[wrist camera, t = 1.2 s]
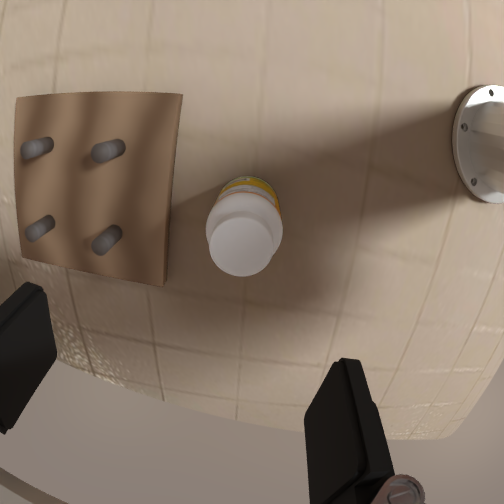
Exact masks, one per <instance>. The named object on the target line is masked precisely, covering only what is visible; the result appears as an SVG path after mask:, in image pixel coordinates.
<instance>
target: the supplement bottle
mask: <svg viewBox="0 0 504 504" xmlns="http://www.w3.org/2000/svg"><path fill="white" fill-rule="evenodd" d="M282 234H283V226H282V219H281V213H280V208H279V202H278V199H277V196H276V193H275V191H274V190H273V189H272V187H271V186H270V185H269V184H268V183H266V182H265V181H263V180H262V179H259V178H257V177H252V176H243V177H239V178H236V179H234V180H232V181H230V182H229V183H228V184H226V185H225V186H224V188H223V189H222V190H221V192H220V194H219V196H218V198H217V200H216V202H215V204H214V206H213V208H212V210H211V211H210V214H209V216H208V219H207V223H206V237H207V241H208V244H209V250H210V255H211V257H212V259H213V261H214V263H215V264H216V265H217V266H218V267H219V268H220V269H221V270H222V271H224V272H226V273H228V274H230V275H233V276H240V277H244V276H250V275H254V274H256V273H258V272H260V271H261V270H263V269H264V268H265V267H266V266H267V265H268V263H269V262H270V260H271V258H272V255H273V254H274V253H275V252H276V251H277V249H278V247H279V245H280V243H281V240H282Z"/></svg>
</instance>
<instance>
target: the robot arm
mask: <svg viewBox="0 0 504 504" xmlns="http://www.w3.org/2000/svg"><path fill="white" fill-rule="evenodd" d="M452 145H453V155H454V160H455V164H456V167H457V170H458V173H459V175H460V177H461V179H462V181H463V183H464V184H465V185H466V187H467V188H468V189H469V191H470V192H472V193H473V194H474V195H475V196H476V197H478V198H480V199H482V200H483V201H486V202H489V203H493V204H501V203H504V87H502V86H497V85H484V86H480V87H477V88H475V89H474V90H472V91H471V92H470V93H469V94H468V95H467V96H466V97H465V98H464V99H463V101H462V103H461V104H460V106H459V108H458V111H457V113H456V116H455V121H454V125H453V134H452ZM56 357H57V349H56V344H55V340H54V335H53V330H52V325H51V319H50V314H49V308H48V301H47V295H46V293H45V292H44V290H43V288H42V287H41V286H38V285H36V284H33V283H30V282H26V283H24V284H23V285H22V286H21V287H20V288H19V289H18V290H16V291H15V292H14V293H13V294H12V295H11V296H10V297H9V298H8V299H7V300H6V301H5V302H4V303H3V304H2V305H1V306H0V432H1V433H3V434H6V432H7V430H8V429H11V428H13V426H14V425H15V423H16V421H17V420H18V418H19V416H20V415H21V413H22V411H23V410H24V408H25V406H26V405H27V403H28V402H29V400H30V398H31V397H32V395H33V394H34V392H35V390H36V389H37V387H38V386H39V384H40V383H41V381H42V380H43V378H44V377H45V375H46V373H47V372H48V371H49V369H50V368H51V366H52V364H53V363H54V362H55V360H56ZM304 427H305V440H306V451H307V452H306V453H307V466H308V481H309V497H310V504H425V503H424V501H425V492H424V490H423V487H422V485H421V484H420V483H419V481H417V480H416V479H415V478H413V477H411V476H409V475H403V474H399V475H395V473H394V469H393V465H392V461H391V457H390V453H389V449H388V445H387V441H386V437H385V434H384V430H383V426H382V423H381V419H380V416H379V412H378V409H377V406H376V404H375V403H374V402H373V401H372V398H371V395H370V391H369V388H368V385H367V381H366V378H365V375H364V371H363V368H362V365H361V362H360V361H359V360H356V359H348V358H341V359H340V360H339V361H338V362H334V363H333V364H332V366H331V368H330V370H329V372H328V374H327V375H326V377H325V379H324V381H323V383H322V385H321V386H320V388H319V390H318V392H317V394H316V395H315V397H314V399H313V401H312V402H311V404H310V406H309V408H308V409H307V411H306V413H305V417H304ZM0 504H68V503H66V502H64V501H62V500H59V499H57V498H55V497H53V496H51V495H49V494H47V493H45V492H43V491H41V490H39V489H37V488H35V487H33V486H31V485H29V484H28V483H26V482H24V481H22V480H20V479H18V478H17V477H15V476H13V475H12V474H10V473H8V472H7V471H5V470H4V469H2V468H0Z"/></svg>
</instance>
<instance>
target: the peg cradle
mask: <svg viewBox="0 0 504 504" xmlns="http://www.w3.org/2000/svg"><path fill="white" fill-rule="evenodd" d="M182 98H183V95H182V94H175V93H157V92H77V93H59V94H47V95H36V96H27V97H18V98H17V100H16V112H15V132H14V175H15V195H16V208H17V219H18V228H19V236H20V244H21V250H22V257H23V258H27V259H31V260H35V261H39V262H44V263H48V264H52V265H57V266H61V267H66V268H70V269H75V270H79V271H84V272H89V273H93V274H98V275H103V276H108V277H113V278H118V279H123V280H128V281H133V282H138V283H143V284H149V285H154V286H159V287H163V286H164V284H165V282H166V280H167V258H168V238H169V222H170V208H171V195H172V183H173V173H174V163H175V153H176V144H177V136H178V128H179V120H180V112H181V105H182Z"/></svg>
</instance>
